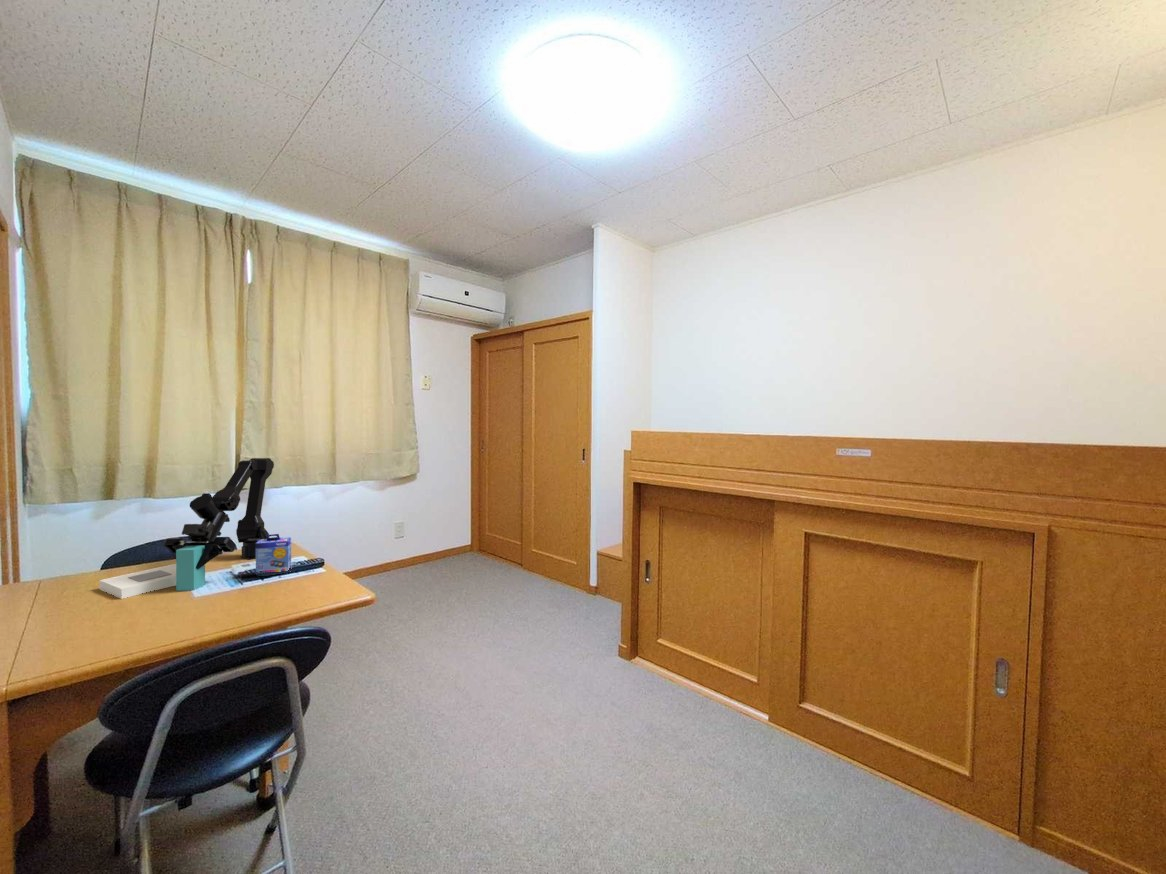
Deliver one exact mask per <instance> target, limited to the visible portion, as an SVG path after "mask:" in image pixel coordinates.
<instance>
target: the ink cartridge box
mask: <svg viewBox="0 0 1166 874" xmlns="http://www.w3.org/2000/svg"><path fill="white" fill-rule="evenodd" d="M290 565H291V566H292V537H291V536H287V537H280V534H279V533H273V534H269V535H267V539H261V540H258V541H257V542H256V558H255V573H256V572H258V571H264V572H265V571H266V572H281V571H288V570H289V568H290Z"/></svg>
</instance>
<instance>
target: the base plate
mask: <svg viewBox="0 0 1166 874" xmlns="http://www.w3.org/2000/svg"><path fill="white" fill-rule="evenodd" d="M98 581H99V590H100V591H102V592H104V593H106V592H107V593H106V594H109V595H111V594H112V595H111V596H113V595H114V597H116V598H118V599H120V600H123V598H124V599H127V597H128V598H131V597H135V596H138V595H142V593H143V594H147V593H151V592H155V591H158V590H163V589H166V588H170V587H173V586H174V587H175V586H176V563H172V564H168V565H164V566H159V567H158V566H157V567H154V568H149V569H146V570H145V569H144V570H139V571H136V572H132V573H127V574H122V575H117V576H112V577H109V578H108V577H107V578H104V579H100V580H98ZM154 590H155V591H154ZM150 591H151V592H150ZM146 592H147V593H146Z"/></svg>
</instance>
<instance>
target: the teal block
mask: <svg viewBox="0 0 1166 874" xmlns="http://www.w3.org/2000/svg"><path fill="white" fill-rule="evenodd" d="M204 547H205V545H204V546H186V547H183V548H180V549H178V550H176V553H175V556H176V557H175V558H176V559H175V564H176V585H175V586H176V587H175V588H176V590H175V591H177V592H183V591H184V592H189V591H190V590H194V591H196V590H198V589H200V588H202V587H203V586H202V585H204V586H205V585H206V564H205V565H203V566H202V567H201V568H199V569H196V565H197V563H198V561H199V559H200V558H201V556H202V554H203V552H204ZM201 586H202V587H201ZM199 587H200V588H199ZM197 588H198V589H197ZM195 589H196V590H195ZM190 592H191V591H190Z"/></svg>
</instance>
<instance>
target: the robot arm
mask: <svg viewBox="0 0 1166 874" xmlns="http://www.w3.org/2000/svg"><path fill="white" fill-rule="evenodd" d="M274 467H275V463H274V461H273V460H272V459H271V458H270V457H252V458H250V459H249V460H248V459H247V460H245V459H244V460H240V461H239V462H238V464H237V468H236V470H235V471H234V473H233V474H232V475H231V477H230V479H229V480H228V482H227V483H226V485H225V486H224V487H223V488H222V489H220V490H217V492H215V494H214V495H213V496H212V495H211V493H205V492H204V493H202V495H200V496H197V497H196V498H194V499H192V500H191V501H190V502H189V508H190V509H191V510H192V511H193V512H194V513H195V514H196V515H197V516H198V517H199V518H200V519H202V522H201V523H185V524H184V525H183V528H182V532H181V535H185V536H187V538H188V540H191V541H186V540H184V539H183V538H182V537H169V538H166V540H165V541H164V543H163V544H162V545H163V547H165V548H166V549H167V550H168V551H169V552H170V553H172V554H176V550H178V549H180V548H183V547H186V546H204V545H205V547H204V552H203V554H202V556H201V558H200V559H199V561H198V563H197V565H196V569H199V568H201V567H202V566H203V565H205V566H206V564H207V563H209V562H210V561H211V560H213V559H215V558H216V557H217V556H219V555H220V556H221V555H222V554H223V552H224V553H233V552H235V549H236V547H237V546H236V543H235V542H234V541H233V539H232V538H231V537H230V536H221V535H222V532H221V530H222V528H223V526H224V524H225V523H229V522H230V521H231V520H230V517H229V514H228V513H226V512H234V511H235V510H237V509H238V506H239V505H240V502H241V496H240V494H241V492H242V490H243V488H244V487H245V486H246V484H247V482H248V480H249V479H250V483H249V490H248V497H247V502H246V508H245V509H246V510H245V515H244V516H243V518H242V519H239V520H238V521H237V527H236V530H235V532H236V533H235V535H236V538H237V542H238V543H242V546H241V556H240V558H242V559H247V560H253V559H256V542H257V541H258V540H261V539H267V535H270V533H269V532H268V531H267V529H266V528H265V522H264V520H263V518H262V516H261V515H262V508H263V502H264V493H265V486H266V482H267V479H269V477H271V476H272V473H273V469H274Z"/></svg>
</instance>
